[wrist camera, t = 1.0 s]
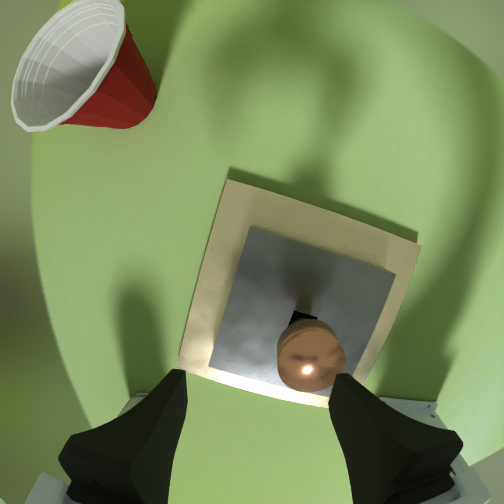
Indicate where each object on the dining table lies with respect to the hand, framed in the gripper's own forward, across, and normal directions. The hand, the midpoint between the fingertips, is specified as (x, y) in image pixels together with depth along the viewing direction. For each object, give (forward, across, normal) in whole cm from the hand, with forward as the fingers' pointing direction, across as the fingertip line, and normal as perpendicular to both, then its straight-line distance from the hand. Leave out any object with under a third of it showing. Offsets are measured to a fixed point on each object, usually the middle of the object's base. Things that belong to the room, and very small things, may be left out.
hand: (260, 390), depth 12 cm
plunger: (+9, -4, +1) cm, 10 cm away
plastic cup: (+16, +13, -17) cm, 27 cm away
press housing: (+12, -4, +1) cm, 13 cm away
